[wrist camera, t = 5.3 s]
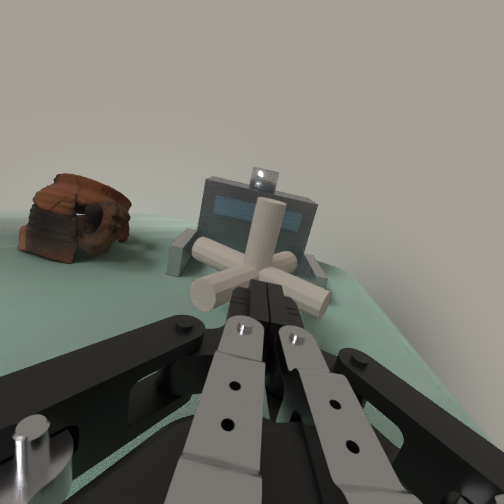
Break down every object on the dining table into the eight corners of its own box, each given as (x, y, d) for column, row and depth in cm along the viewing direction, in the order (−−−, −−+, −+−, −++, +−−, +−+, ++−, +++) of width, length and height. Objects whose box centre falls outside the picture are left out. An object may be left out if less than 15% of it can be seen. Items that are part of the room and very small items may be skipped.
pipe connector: (228, 291, 27) (250, 186, 24) (326, 343, 22) (370, 220, 19) (134, 330, 18) (150, 176, 15) (259, 428, 14) (319, 233, 11)
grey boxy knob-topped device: (166, 274, 27) (183, 152, 24) (193, 238, 39) (207, 155, 36) (319, 305, 28) (356, 192, 25) (298, 261, 40) (322, 182, 37)
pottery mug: (-9, 244, 26) (28, 167, 28) (87, 270, 34) (111, 209, 36) (53, 258, 20) (96, 157, 22) (153, 286, 28) (178, 210, 30)
